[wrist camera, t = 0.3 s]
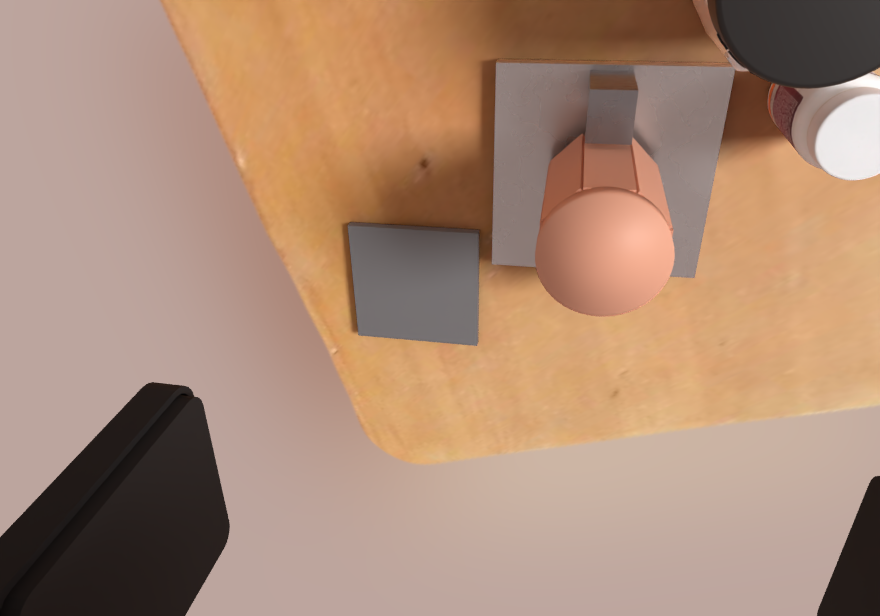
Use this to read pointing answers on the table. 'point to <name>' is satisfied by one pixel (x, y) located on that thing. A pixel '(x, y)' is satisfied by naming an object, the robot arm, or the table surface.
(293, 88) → the table surface
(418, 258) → the coaster
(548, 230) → the salmon domed faceted piece
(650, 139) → the pegged base plate
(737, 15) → the jar
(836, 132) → the pill bottle
